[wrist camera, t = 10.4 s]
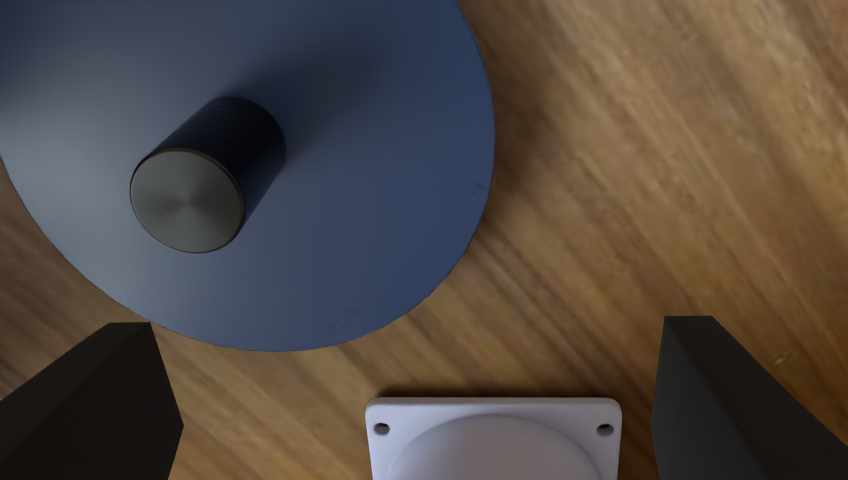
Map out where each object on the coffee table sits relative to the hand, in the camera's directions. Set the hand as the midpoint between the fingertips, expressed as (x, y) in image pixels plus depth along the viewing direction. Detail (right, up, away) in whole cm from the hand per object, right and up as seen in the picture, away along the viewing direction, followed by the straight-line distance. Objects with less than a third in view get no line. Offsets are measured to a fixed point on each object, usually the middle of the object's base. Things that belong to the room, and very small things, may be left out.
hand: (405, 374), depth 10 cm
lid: (-4, +4, +8) cm, 10 cm away
